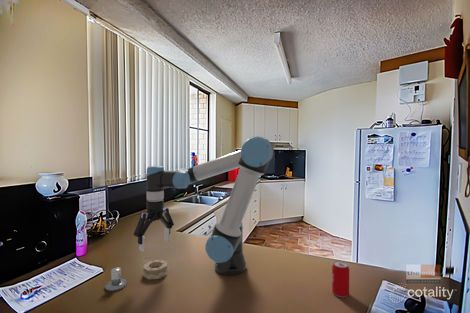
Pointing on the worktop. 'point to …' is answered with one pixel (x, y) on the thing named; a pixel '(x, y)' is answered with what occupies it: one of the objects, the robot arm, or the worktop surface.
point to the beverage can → (340, 279)
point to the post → (115, 280)
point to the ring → (155, 269)
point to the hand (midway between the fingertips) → (155, 246)
